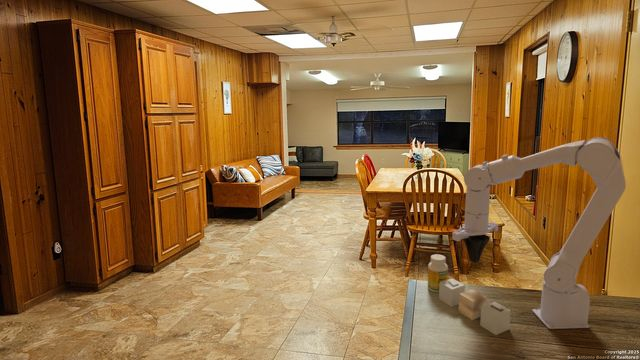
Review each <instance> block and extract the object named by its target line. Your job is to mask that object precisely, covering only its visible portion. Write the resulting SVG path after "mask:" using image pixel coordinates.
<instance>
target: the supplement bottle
mask: <svg viewBox="0 0 640 360" xmlns="http://www.w3.org/2000/svg"><path fill="white" fill-rule="evenodd" d="M446 258H447V257H446V256H445V255H442V254H439V253H435V254H432V255H430V262H429V263H428V265H427V289H428V290H430V291H431V292H432V293H438V294H439V286H440V282H442V281H445V280H448V279H449V278H448V276H449V275H448V274H449V273H448V272H449V266H448V264H447V263H446V260H447V259H446Z"/></svg>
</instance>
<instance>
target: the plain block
mask: <svg viewBox="0 0 640 360" xmlns="http://www.w3.org/2000/svg"><path fill="white" fill-rule="evenodd" d="M485 305H487V296H486V295H483V294H481V293H480V292H478V291H476V290H474V289H469V290H466V291H465V292H463V293H460V294H459V304H458V310H457V311H458V313H460V314H462V315H463V316H465V317H466V318H468V319H469V320H471V321H473V320H476V319H478V318H481V307H482V306H485Z"/></svg>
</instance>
